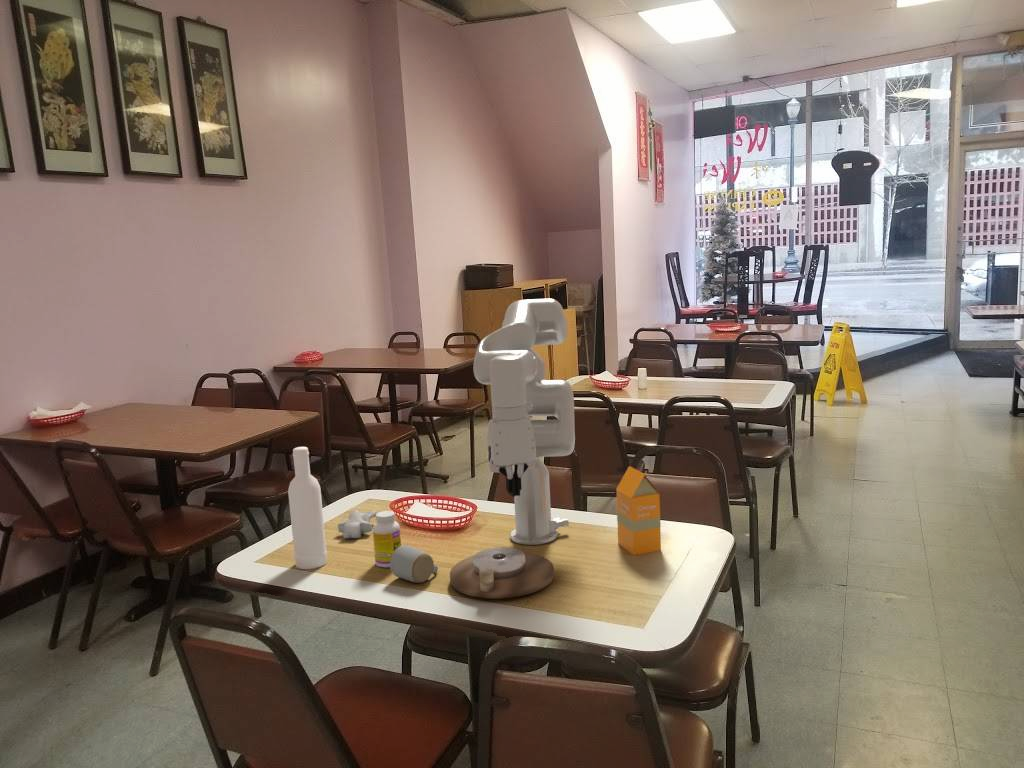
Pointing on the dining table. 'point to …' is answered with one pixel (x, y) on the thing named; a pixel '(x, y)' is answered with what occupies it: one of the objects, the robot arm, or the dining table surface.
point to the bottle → (306, 514)
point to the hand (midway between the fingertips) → (514, 494)
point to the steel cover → (500, 562)
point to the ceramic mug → (412, 564)
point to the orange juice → (638, 513)
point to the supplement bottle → (385, 537)
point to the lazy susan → (487, 587)
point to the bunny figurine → (357, 524)
